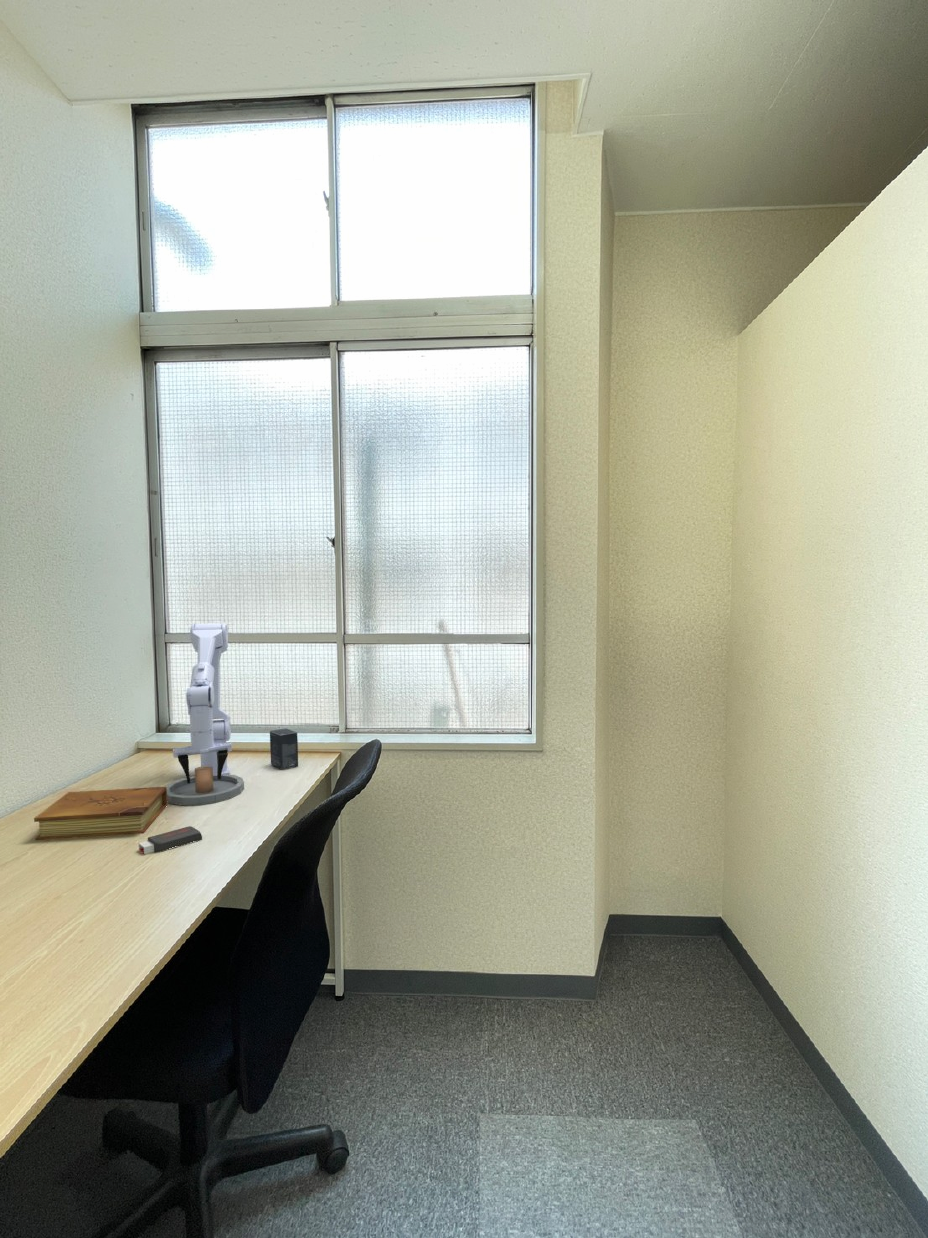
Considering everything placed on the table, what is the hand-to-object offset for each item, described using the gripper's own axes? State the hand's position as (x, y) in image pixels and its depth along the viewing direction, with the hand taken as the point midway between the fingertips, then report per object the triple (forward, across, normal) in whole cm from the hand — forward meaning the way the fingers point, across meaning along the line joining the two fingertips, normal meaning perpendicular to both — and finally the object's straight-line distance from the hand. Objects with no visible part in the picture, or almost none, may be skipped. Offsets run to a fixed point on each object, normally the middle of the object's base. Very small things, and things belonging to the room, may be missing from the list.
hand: (204, 780), depth 185 cm
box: (+4, +24, +16) cm, 29 cm away
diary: (+4, -23, -12) cm, 26 cm away
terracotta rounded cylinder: (+3, 0, 0) cm, 3 cm away
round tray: (+3, 0, 0) cm, 3 cm away
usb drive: (+4, -10, -34) cm, 35 cm away
